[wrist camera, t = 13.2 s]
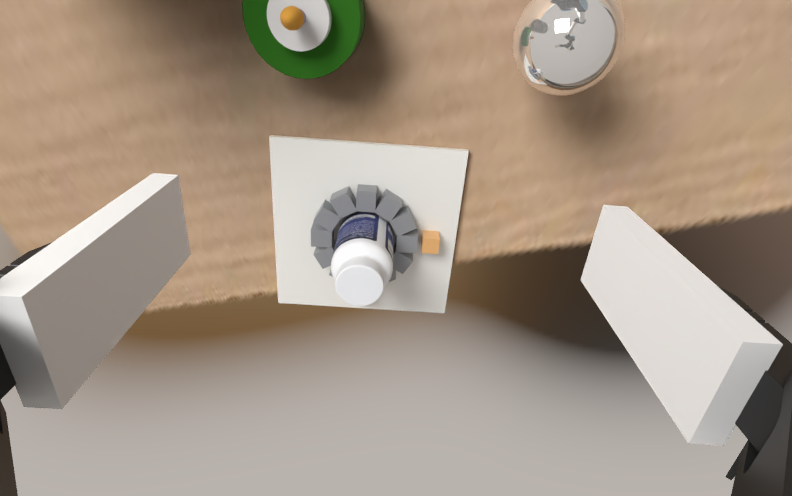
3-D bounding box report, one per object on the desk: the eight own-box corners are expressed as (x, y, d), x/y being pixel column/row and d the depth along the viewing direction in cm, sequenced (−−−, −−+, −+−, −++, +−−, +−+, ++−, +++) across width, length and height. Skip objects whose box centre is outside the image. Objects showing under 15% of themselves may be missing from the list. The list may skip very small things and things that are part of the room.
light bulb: (516, 94, 40) (559, 127, 30) (475, 22, 38) (505, 29, 27) (591, 44, 38) (664, 59, 28) (552, -36, 36) (617, -53, 25)
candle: (385, 30, 38) (381, 37, 29) (307, 89, 40) (281, 113, 31) (322, -70, 35) (296, -96, 26) (241, 0, 37) (191, -1, 28)
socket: (270, 134, 42) (263, 141, 40) (467, 149, 43) (471, 156, 40) (279, 299, 50) (274, 312, 48) (444, 310, 51) (446, 323, 49)
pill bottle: (328, 237, 46) (312, 291, 38) (359, 197, 44) (350, 244, 36) (372, 266, 48) (366, 324, 39) (404, 228, 46) (406, 281, 37)
